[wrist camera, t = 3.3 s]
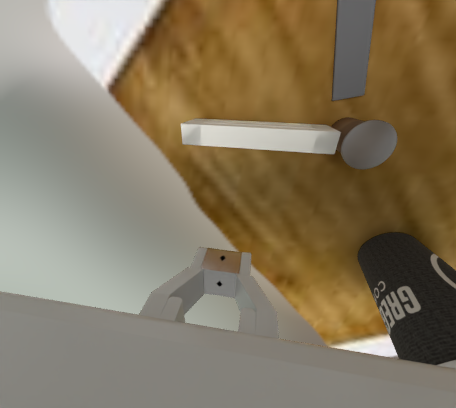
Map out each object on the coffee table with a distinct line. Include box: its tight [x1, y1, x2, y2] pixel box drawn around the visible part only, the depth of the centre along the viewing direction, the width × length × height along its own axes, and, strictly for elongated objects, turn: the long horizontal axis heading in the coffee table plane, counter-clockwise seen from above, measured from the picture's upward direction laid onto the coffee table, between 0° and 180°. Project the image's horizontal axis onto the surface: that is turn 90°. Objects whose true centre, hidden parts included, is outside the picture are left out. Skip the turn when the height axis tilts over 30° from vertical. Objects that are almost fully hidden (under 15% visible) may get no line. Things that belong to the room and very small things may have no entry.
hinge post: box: [331, 117, 397, 169], centre depth 16 cm, size 3×3×5 cm
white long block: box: [181, 118, 341, 154], centre depth 17 cm, size 12×2×4 cm, turn 88°
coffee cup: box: [358, 233, 456, 369], centre depth 17 cm, size 10×10×15 cm
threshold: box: [332, 0, 376, 101], centre depth 15 cm, size 2×9×1 cm, turn 10°
